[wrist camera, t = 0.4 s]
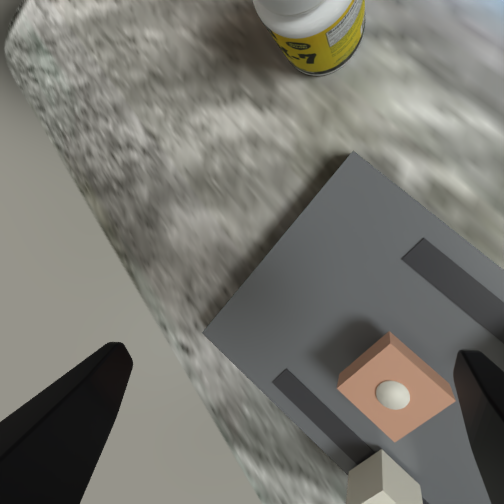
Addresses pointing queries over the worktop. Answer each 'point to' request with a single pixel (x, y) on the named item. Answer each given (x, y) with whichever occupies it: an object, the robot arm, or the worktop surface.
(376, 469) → the cream slider
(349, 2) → the supplement bottle
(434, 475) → the control panel
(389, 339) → the terracotta button
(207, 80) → the worktop surface
